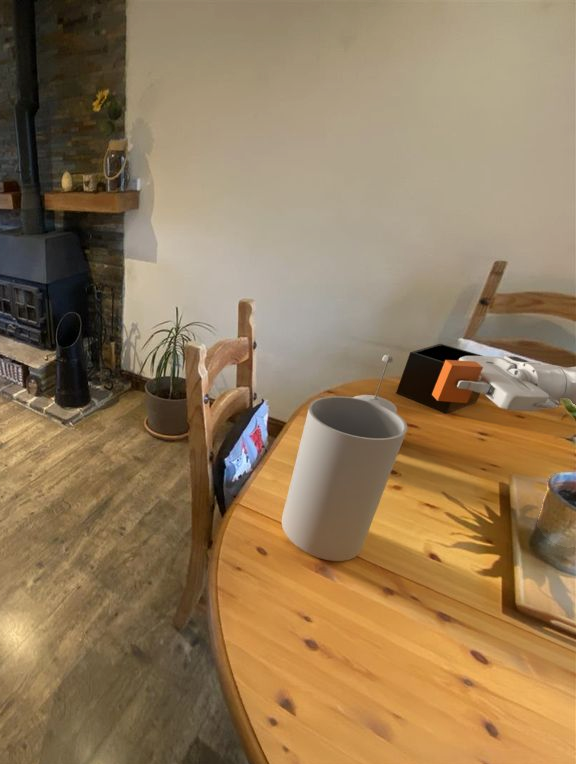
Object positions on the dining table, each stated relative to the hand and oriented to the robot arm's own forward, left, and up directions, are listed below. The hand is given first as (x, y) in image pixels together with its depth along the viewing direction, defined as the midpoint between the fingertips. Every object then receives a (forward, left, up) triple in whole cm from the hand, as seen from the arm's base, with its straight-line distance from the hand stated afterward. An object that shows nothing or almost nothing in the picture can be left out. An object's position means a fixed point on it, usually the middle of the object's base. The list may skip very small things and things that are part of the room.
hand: (452, 379), depth 93 cm
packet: (-1, -1, -5) cm, 5 cm away
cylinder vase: (-12, +50, -14) cm, 54 cm away
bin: (+9, -18, -14) cm, 24 cm away
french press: (0, +25, -14) cm, 29 cm away
